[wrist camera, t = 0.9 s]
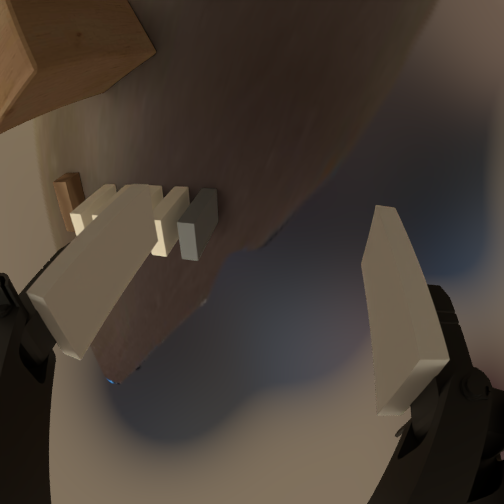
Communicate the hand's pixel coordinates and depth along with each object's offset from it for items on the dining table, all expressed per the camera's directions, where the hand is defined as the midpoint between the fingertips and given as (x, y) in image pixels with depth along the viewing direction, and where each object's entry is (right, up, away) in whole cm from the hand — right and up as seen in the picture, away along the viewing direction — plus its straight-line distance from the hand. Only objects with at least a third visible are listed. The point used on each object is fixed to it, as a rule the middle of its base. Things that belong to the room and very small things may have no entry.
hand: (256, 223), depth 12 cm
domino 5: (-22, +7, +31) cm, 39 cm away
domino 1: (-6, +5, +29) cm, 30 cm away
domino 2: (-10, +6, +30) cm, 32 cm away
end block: (-29, +8, +32) cm, 44 cm away
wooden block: (-18, +25, +18) cm, 36 cm away
